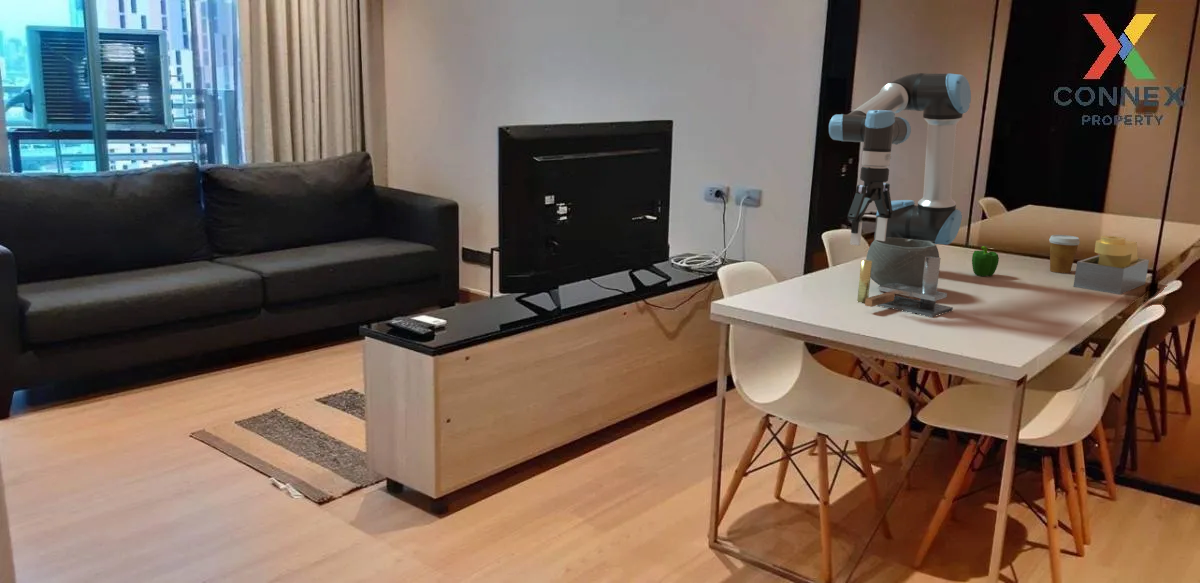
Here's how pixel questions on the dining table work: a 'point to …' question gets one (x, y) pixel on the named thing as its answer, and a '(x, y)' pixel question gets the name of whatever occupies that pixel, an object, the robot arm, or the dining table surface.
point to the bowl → (899, 260)
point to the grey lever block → (914, 293)
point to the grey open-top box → (1110, 276)
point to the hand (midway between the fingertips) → (867, 242)
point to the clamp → (1116, 251)
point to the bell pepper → (984, 262)
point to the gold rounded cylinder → (864, 280)
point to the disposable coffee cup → (1062, 252)
